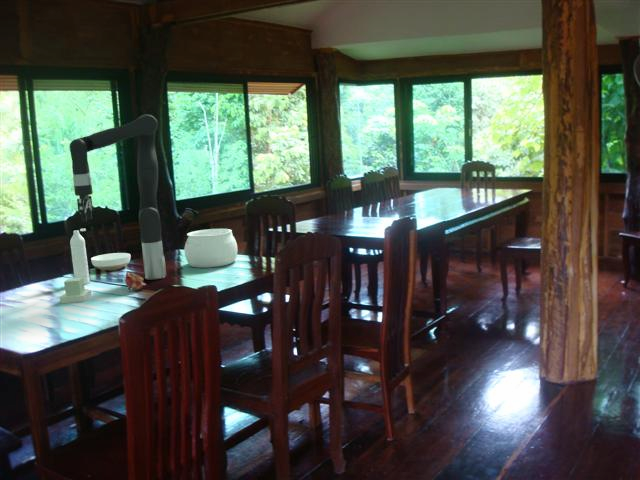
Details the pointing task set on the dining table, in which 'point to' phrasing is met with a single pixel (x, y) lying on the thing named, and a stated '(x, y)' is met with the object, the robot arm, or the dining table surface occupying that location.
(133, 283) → the flower
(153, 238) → the robot arm
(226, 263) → the pot
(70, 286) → the green cube
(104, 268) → the bowl
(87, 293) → the trivet
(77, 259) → the white bottle
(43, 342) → the dining table surface
